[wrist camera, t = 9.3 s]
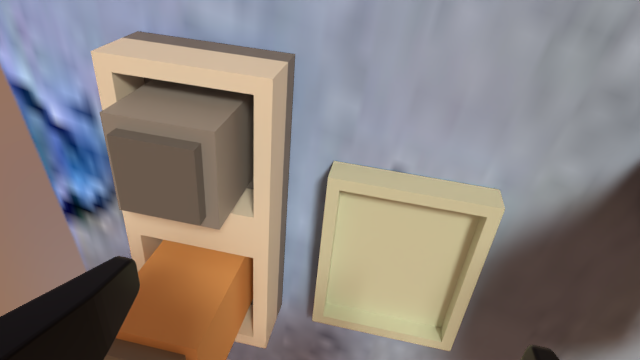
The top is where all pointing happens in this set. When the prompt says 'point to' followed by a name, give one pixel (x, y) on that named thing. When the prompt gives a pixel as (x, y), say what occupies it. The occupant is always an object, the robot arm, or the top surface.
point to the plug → (186, 305)
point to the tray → (402, 253)
